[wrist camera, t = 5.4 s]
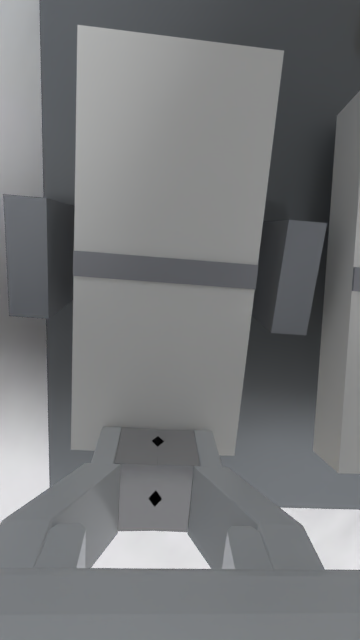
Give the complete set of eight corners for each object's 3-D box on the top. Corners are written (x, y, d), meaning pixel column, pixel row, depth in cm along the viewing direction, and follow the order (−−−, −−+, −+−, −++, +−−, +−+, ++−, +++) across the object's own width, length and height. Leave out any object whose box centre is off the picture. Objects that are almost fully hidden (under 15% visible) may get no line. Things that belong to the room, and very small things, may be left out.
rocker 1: (90, 61, 8) (76, 22, 7) (264, 82, 9) (285, 48, 7) (82, 423, 10) (70, 451, 9) (225, 429, 11) (234, 457, 9)
